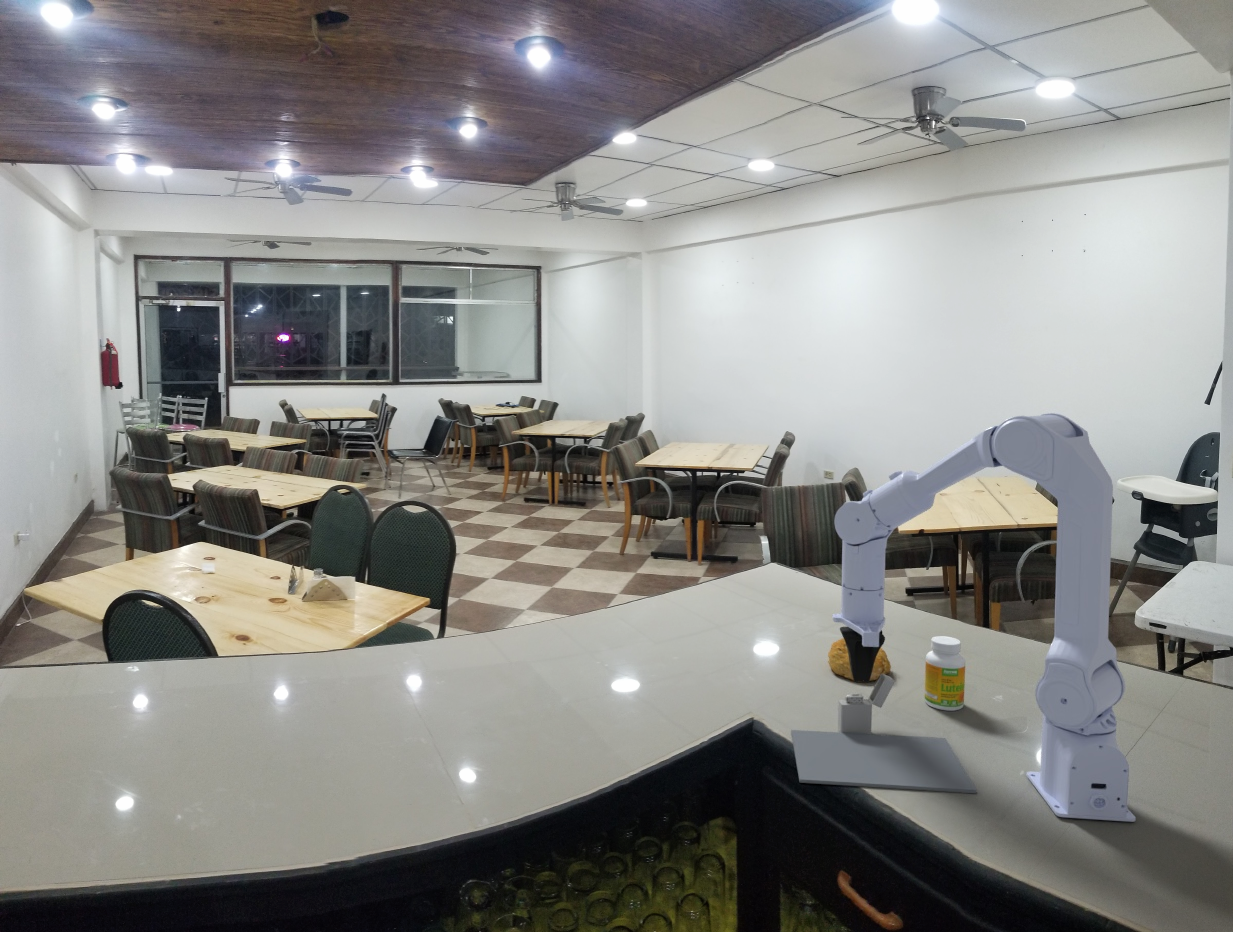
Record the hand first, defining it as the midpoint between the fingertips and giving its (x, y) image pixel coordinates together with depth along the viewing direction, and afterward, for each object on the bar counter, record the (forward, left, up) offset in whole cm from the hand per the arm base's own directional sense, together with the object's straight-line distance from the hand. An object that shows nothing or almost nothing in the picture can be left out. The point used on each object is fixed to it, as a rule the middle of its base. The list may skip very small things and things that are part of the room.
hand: (860, 679), depth 111 cm
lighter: (-4, 0, -6) cm, 7 cm away
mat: (-13, 0, -6) cm, 14 cm away
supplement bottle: (+7, -13, -6) cm, 16 cm away
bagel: (+19, -3, -6) cm, 20 cm away
